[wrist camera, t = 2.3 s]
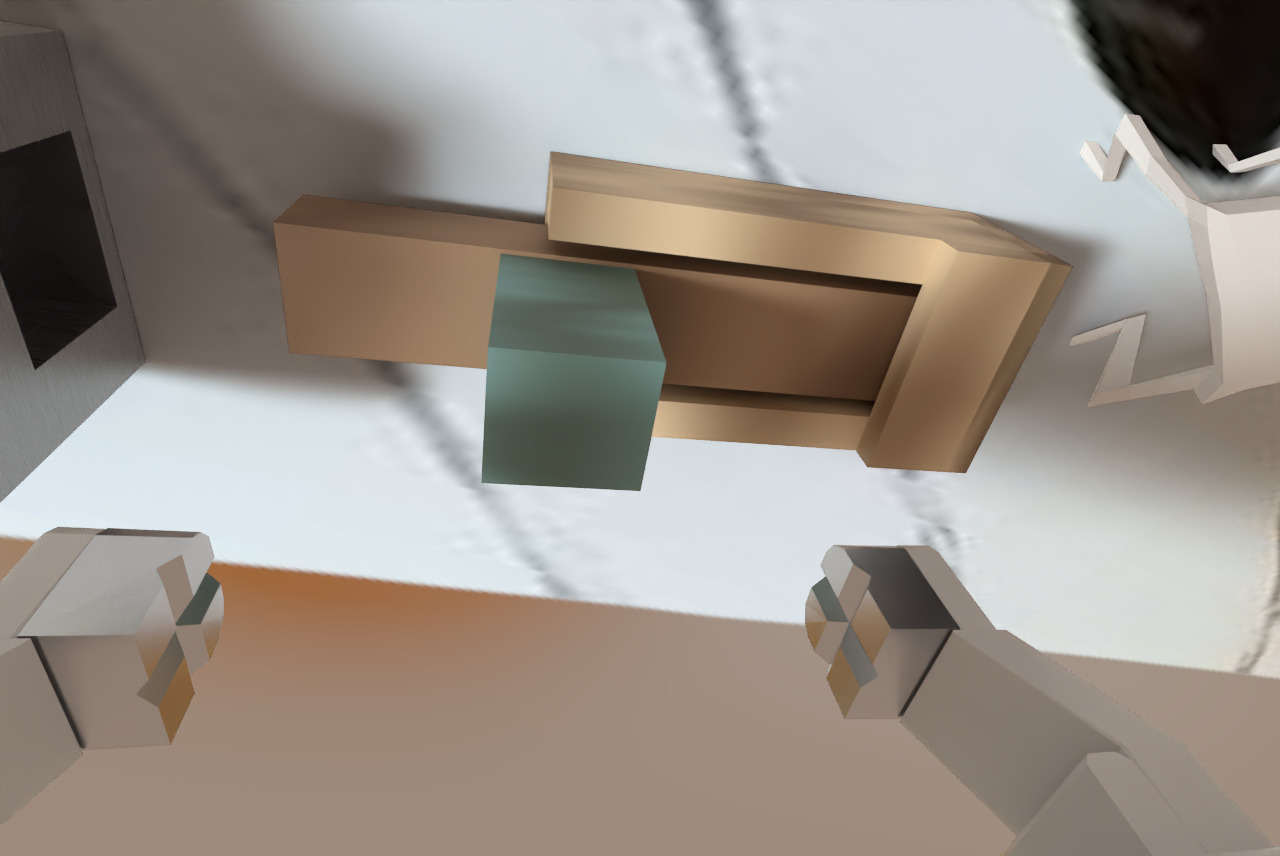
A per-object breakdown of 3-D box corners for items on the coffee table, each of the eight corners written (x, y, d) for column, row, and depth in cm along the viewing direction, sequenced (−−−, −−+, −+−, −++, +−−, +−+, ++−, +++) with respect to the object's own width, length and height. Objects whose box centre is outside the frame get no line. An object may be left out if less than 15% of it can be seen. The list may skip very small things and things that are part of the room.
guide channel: (971, 212, 19) (1072, 266, 16) (896, 393, 22) (966, 473, 19) (550, 151, 17) (554, 197, 13) (532, 362, 20) (531, 446, 17)
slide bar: (921, 271, 19) (1085, 395, 13) (883, 366, 20) (1015, 513, 15) (303, 194, 16) (172, 313, 10) (315, 313, 17) (208, 473, 12)
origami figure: (960, 364, 22) (1055, 450, 18) (1082, 84, 18) (1243, 114, 14) (1258, 383, 24) (1402, 464, 20) (1433, 137, 20) (1663, 177, 16)
